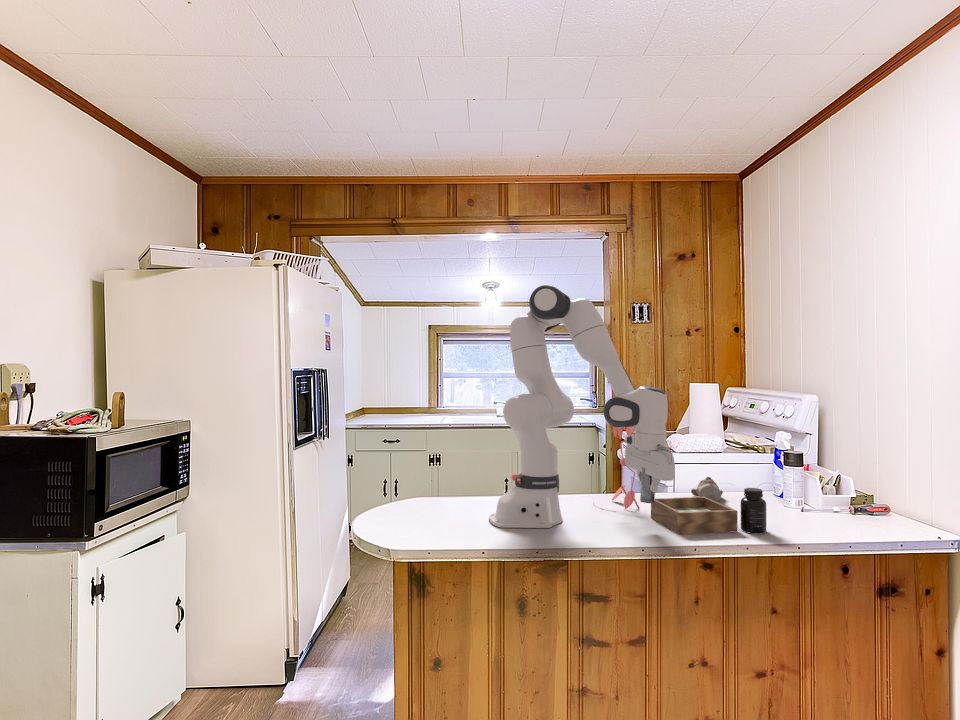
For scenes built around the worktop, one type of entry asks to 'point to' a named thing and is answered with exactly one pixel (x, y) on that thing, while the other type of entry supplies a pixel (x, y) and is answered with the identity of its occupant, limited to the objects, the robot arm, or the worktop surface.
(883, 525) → the worktop surface
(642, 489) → the peg
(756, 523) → the supplement bottle
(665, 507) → the box
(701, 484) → the ceramic sculpture
